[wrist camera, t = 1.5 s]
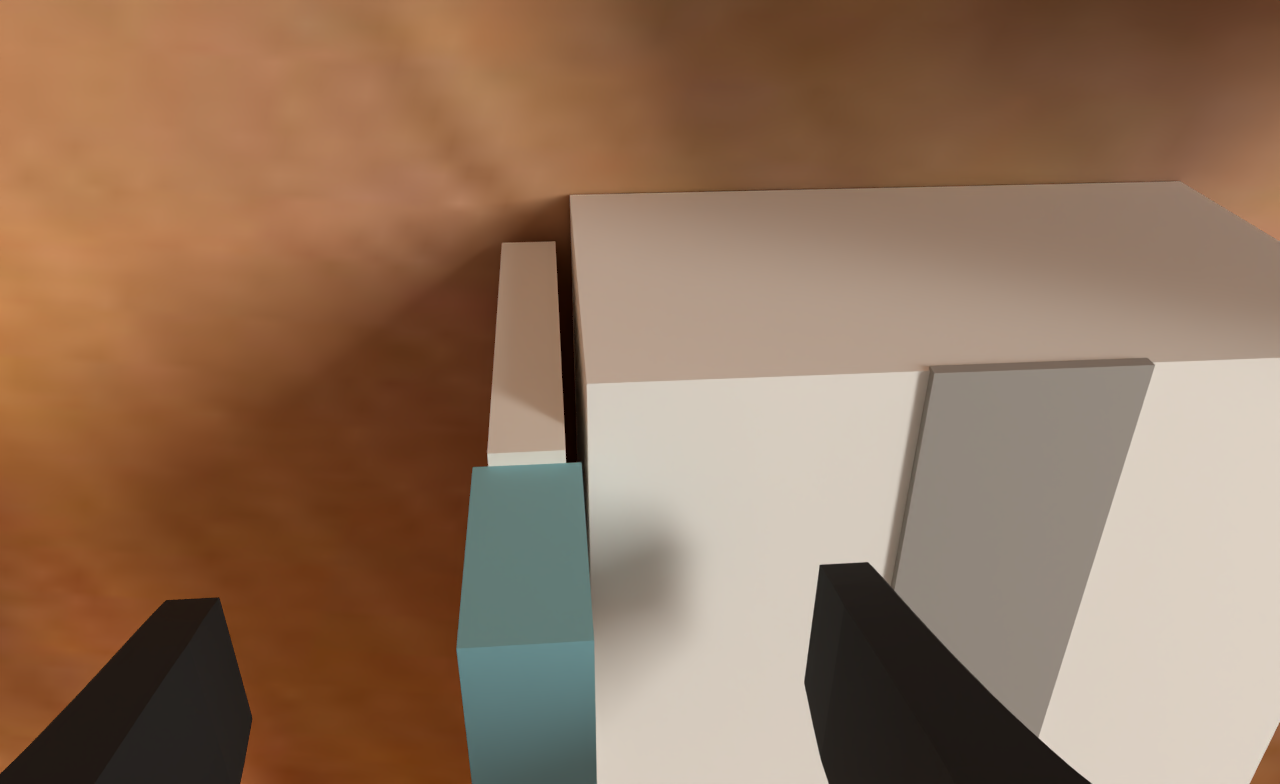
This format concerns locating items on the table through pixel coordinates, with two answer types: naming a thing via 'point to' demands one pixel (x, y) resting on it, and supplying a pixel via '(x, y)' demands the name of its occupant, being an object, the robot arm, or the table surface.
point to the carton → (932, 464)
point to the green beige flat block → (527, 556)
